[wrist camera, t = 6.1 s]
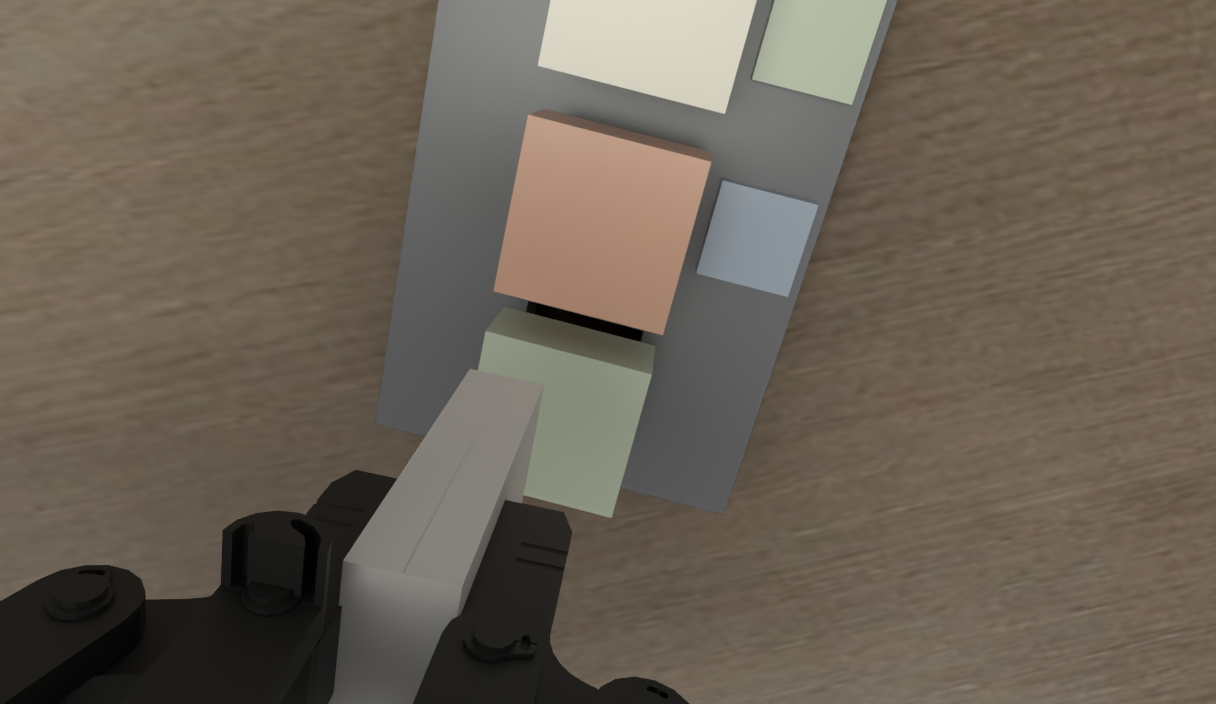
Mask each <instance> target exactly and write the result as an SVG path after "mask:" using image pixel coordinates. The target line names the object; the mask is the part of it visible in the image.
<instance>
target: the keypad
mask: <svg viewBox="0 0 1216 704" xmlns="http://www.w3.org/2000/svg"><path fill="white" fill-rule="evenodd" d="M896 3H897V0H757V1H756V5H755V9H754V12H753V16H752V19H751V23H750V26H749V30H748V34H747V37H746V41H745V44H744V48H743V51H742V55H741V59H740V62H739V66H738V69H737V73H736V76H735V80H734V84H733V87H732V91H731V94H730V98H729V101H728V105H727V108H726V112H725V114H723V113H719V112H715V111H711V110H707V109H703V108H700V107H696V106H692V105H688V104H684V103H680V102H676V101H672V100H668V99H665V98H661V97H657V96H653V95H649V94H645V93H641V92H637V91H633V90H630V89H626V88H622V87H618V86H614V85H610V84H606V83H602V82H598V81H595V80H591V79H587V78H583V77H579V76H575V75H571V74H567V73H563V72H560V71H556V70H552V69H548V68H544V67H540V66H538V62H539V56H540V51H541V46H542V41H543V36H544V31H545V26H546V21H547V16H548V11H549V5H550V0H439V2H438V8H437V15H436V22H435V28H434V35H433V42H432V48H431V55H430V61H429V68H428V75H427V81H426V88H425V95H424V101H423V108H422V115H421V121H420V128H419V134H418V141H417V148H416V154H415V161H414V168H413V174H412V181H411V188H410V194H409V201H408V207H407V214H406V221H405V227H404V234H403V241H402V247H401V254H400V261H399V267H398V274H397V280H396V287H395V294H394V300H393V307H392V314H391V320H390V327H389V334H388V340H387V347H386V353H385V360H384V367H383V373H382V380H381V387H380V393H379V400H378V406H377V413H376V420H375V424H378V425H382V426H386V427H389V428H393V429H397V430H401V431H405V432H408V433H412V434H416V435H420V436H424V437H425V436H426V435H427V433H428V432H429V430H430V429H431V427H432V426H433V424H434V423H435V421H436V420H437V418H438V416H439V415H440V413H441V412H442V410H443V409H444V407H445V406H446V404H447V403H448V401H449V400H450V398H451V397H452V395H453V394H454V392H455V391H456V389H457V388H458V386H459V385H460V383H461V382H462V380H463V379H464V377H465V376H466V374H467V373H468V371H469V370H470V369H473V370H478V367H479V362H480V357H481V352H482V347H483V342H484V337H485V331H486V330H487V329H488V327H489V326H490V325H491V323H492V322H493V321H494V319H495V318H496V317H497V315H498V314H499V313H500V311H501V310H502V309H503V307H508V308H512V309H516V310H519V311H523V312H527V313H531V314H534V312H535V308H536V303H537V302H533V301H529V300H525V299H522V298H518V297H514V296H510V295H506V294H502V293H499V292H495V291H494V286H495V281H496V275H497V270H498V265H499V260H500V255H501V250H502V245H503V240H504V235H505V230H506V225H507V219H508V214H509V209H510V204H511V199H512V194H513V189H514V184H515V179H516V174H517V168H518V163H519V158H520V153H521V148H522V143H523V138H524V133H525V128H526V123H527V118H528V114H531V113H534V112H537V111H539V110H542V109H547V110H551V111H555V112H559V113H562V114H566V115H570V116H574V117H578V118H582V119H586V120H590V121H594V122H597V123H601V124H605V125H609V126H613V127H617V128H621V129H625V130H628V131H632V132H636V133H640V134H644V135H648V136H652V137H656V138H660V139H663V140H667V141H671V142H675V143H679V144H683V145H687V146H691V147H694V148H698V149H702V150H706V151H710V156H711V166H710V169H709V173H708V176H707V180H706V183H705V187H704V190H703V194H702V198H701V201H700V205H699V208H698V212H697V215H696V219H695V223H694V226H693V230H692V233H691V237H690V240H689V244H688V248H687V251H686V255H685V258H684V262H683V265H682V269H681V272H680V276H679V280H678V283H677V287H676V290H675V294H674V297H673V301H672V305H671V308H670V312H669V315H668V319H667V322H666V326H665V330H664V333H663V335H660V334H656V333H652V332H649V331H645V330H642V332H641V336H640V340H639V342H643V343H646V344H650V345H654V346H655V354H654V362H653V370H652V376H651V379H650V383H649V387H648V390H647V394H646V397H645V401H644V404H643V408H642V412H641V415H640V419H639V422H638V426H637V429H636V433H635V437H634V440H633V444H632V447H631V451H630V454H629V458H628V461H627V465H626V469H625V472H624V476H623V479H622V483H621V486H620V488H622V489H626V490H630V491H634V492H638V493H641V494H645V495H649V496H653V497H657V498H661V499H664V500H668V501H672V502H676V503H680V504H683V505H687V506H691V507H695V508H699V509H703V510H706V511H710V512H714V513H718V514H722V515H724V512H725V510H726V507H727V504H728V501H729V498H730V495H731V492H732V489H733V486H734V483H735V480H736V477H737V474H738V471H739V468H740V465H741V462H742V459H743V456H744V453H745V450H746V447H747V444H748V441H749V438H750V436H751V433H752V430H753V427H754V424H755V421H756V418H757V415H758V412H759V409H760V406H761V403H762V400H763V397H764V394H765V391H766V388H767V385H768V382H769V379H770V376H771V373H772V370H773V367H774V364H775V362H776V359H777V356H778V353H779V350H780V347H781V344H782V341H783V338H784V335H785V332H786V329H787V326H788V323H789V320H790V317H791V314H792V311H793V308H794V305H795V302H796V299H797V296H798V293H799V290H800V288H801V285H802V282H803V279H804V276H805V273H806V270H807V267H808V264H809V261H810V258H811V255H812V252H813V249H814V246H815V243H816V240H817V237H818V234H819V231H820V228H821V225H822V222H823V219H824V216H825V214H826V211H827V208H828V205H829V202H830V199H831V196H832V193H833V190H834V187H835V184H836V181H837V178H838V175H839V172H840V169H841V166H842V163H843V160H844V157H845V154H846V151H847V148H848V145H849V142H850V140H851V137H852V134H853V131H854V128H855V125H856V122H857V119H858V116H859V113H860V110H861V107H862V104H863V101H864V98H865V95H866V92H867V89H868V86H869V83H870V80H871V77H872V74H873V71H874V68H875V66H876V63H877V60H878V57H879V54H880V51H881V48H882V45H883V42H884V39H885V36H886V33H887V30H888V27H889V24H890V21H891V18H892V15H893V12H894V9H895V6H896ZM539 304H541V303H539ZM542 305H545V304H542ZM546 306H549V305H546ZM550 307H552V306H550ZM554 308H556V307H554ZM558 309H560V308H558ZM562 310H564V309H562ZM565 311H568V310H565ZM569 312H572V311H569ZM573 313H576V312H573ZM577 314H579V313H577ZM581 315H583V314H581ZM585 316H587V315H585ZM589 317H591V316H589ZM592 318H595V317H592ZM596 319H599V318H596ZM600 320H602V319H600ZM604 321H606V320H604ZM608 322H610V321H608ZM612 323H614V322H612ZM616 324H618V323H616ZM619 325H622V324H619ZM623 326H626V325H623ZM627 327H629V326H627ZM631 328H633V327H631ZM635 329H637V328H635ZM639 330H641V329H639Z"/></svg>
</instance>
